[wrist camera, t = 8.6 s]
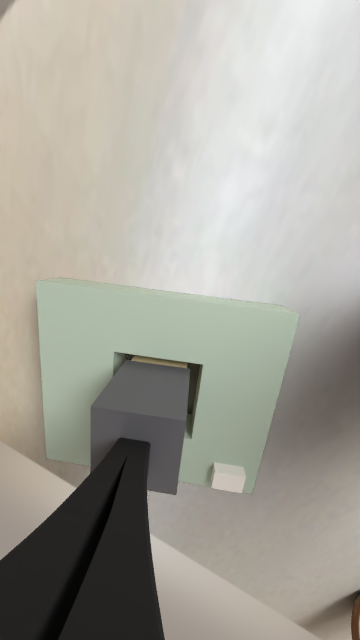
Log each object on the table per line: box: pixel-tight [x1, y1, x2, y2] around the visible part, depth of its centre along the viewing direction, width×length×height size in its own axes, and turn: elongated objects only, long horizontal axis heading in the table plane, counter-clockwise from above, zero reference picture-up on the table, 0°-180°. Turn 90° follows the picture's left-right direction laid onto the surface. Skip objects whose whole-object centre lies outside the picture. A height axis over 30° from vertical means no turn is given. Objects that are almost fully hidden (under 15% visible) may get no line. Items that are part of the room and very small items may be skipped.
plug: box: [90, 355, 190, 495], centre depth 13 cm, size 4×4×7 cm
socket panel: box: [36, 278, 300, 494], centre depth 14 cm, size 15×13×3 cm
